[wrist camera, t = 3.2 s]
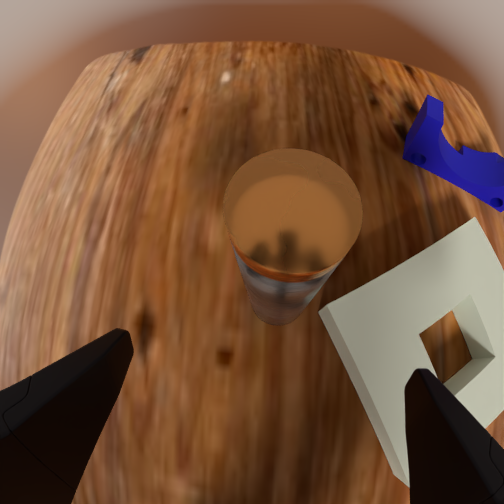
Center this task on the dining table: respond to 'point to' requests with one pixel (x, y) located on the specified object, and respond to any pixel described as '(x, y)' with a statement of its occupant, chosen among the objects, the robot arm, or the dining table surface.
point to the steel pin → (290, 227)
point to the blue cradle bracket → (454, 157)
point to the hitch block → (416, 321)
